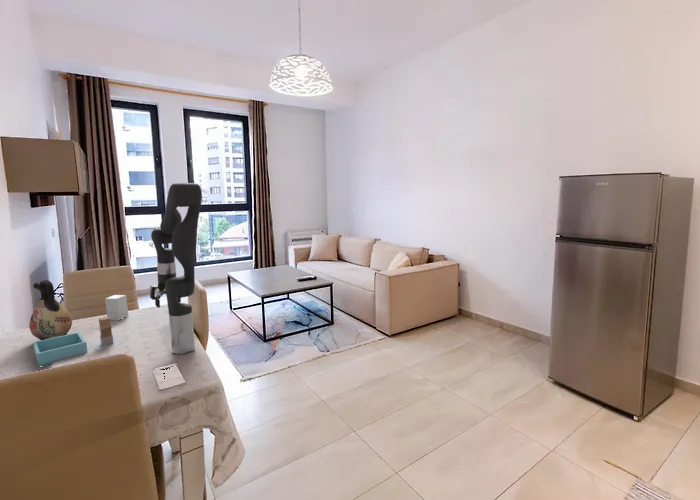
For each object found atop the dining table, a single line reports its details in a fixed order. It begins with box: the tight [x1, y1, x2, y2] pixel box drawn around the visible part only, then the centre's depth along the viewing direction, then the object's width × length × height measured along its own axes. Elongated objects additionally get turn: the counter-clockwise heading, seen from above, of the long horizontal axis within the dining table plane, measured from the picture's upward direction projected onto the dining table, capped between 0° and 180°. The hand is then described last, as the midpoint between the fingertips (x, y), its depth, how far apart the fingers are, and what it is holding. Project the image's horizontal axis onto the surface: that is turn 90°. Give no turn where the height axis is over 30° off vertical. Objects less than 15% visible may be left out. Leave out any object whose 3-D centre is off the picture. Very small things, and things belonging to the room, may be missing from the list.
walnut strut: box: [98, 316, 114, 346], centre depth 159 cm, size 4×4×12 cm
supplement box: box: [104, 294, 129, 321], centre depth 196 cm, size 7×7×13 cm
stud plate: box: [91, 337, 124, 351], centre depth 160 cm, size 10×10×5 cm
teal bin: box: [32, 331, 88, 368], centre depth 151 cm, size 16×16×6 cm
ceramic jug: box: [28, 279, 73, 341], centre depth 165 cm, size 17×15×30 cm
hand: (168, 305), depth 164 cm, fingers open, 8 cm apart
